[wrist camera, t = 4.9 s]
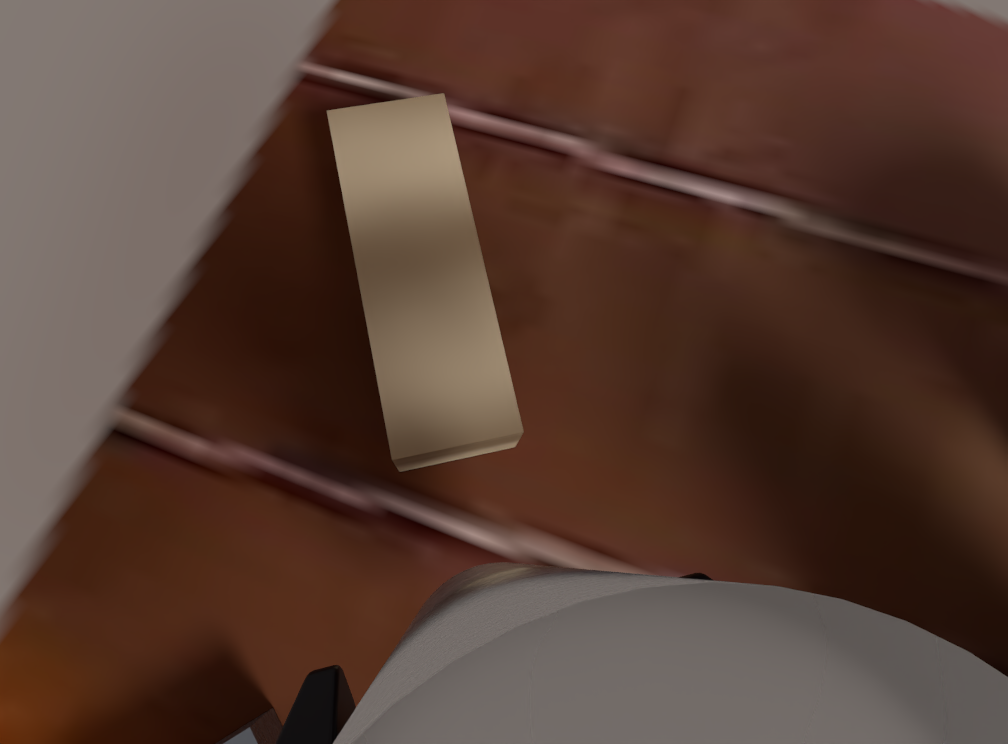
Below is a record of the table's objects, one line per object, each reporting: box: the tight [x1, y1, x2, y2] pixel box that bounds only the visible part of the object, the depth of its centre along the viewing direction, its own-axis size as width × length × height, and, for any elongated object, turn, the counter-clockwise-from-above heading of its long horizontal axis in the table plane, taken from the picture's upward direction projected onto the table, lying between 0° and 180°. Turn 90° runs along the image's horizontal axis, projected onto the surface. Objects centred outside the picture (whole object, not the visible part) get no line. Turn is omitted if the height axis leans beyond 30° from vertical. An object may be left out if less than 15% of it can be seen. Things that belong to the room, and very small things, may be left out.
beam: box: [327, 93, 524, 472], centre depth 23 cm, size 12×4×3 cm, turn 13°
